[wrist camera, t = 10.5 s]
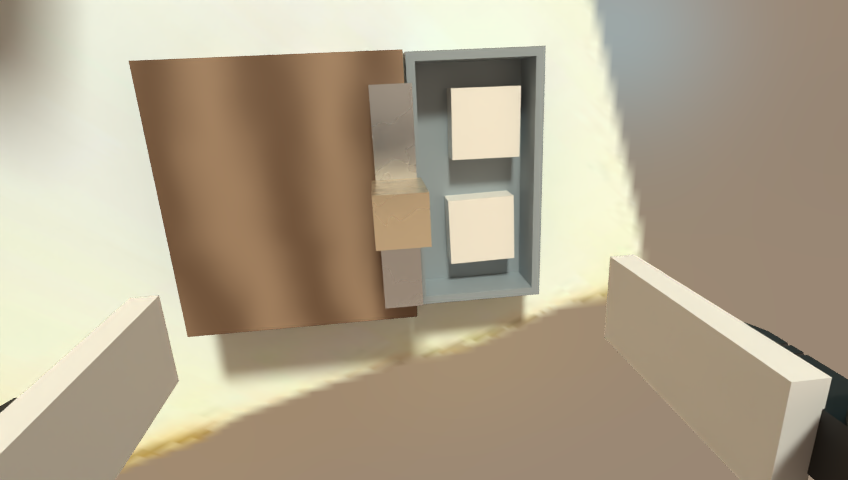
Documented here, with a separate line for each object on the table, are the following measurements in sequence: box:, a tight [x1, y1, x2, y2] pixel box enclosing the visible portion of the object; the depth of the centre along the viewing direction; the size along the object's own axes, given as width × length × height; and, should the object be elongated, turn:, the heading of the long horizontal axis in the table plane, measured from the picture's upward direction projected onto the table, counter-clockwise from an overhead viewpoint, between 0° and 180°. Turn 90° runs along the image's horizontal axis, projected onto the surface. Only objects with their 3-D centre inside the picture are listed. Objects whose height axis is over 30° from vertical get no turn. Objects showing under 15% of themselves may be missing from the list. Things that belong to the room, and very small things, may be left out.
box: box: [403, 46, 545, 304], centre depth 37 cm, size 9×18×4 cm, turn 3°
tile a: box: [444, 190, 514, 264], centre depth 38 cm, size 5×5×2 cm
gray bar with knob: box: [368, 83, 432, 309], centre depth 29 cm, size 3×14×7 cm, turn 3°
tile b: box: [447, 86, 521, 160], centre depth 36 cm, size 5×5×2 cm
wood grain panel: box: [129, 50, 417, 337], centre depth 35 cm, size 16×18×6 cm
